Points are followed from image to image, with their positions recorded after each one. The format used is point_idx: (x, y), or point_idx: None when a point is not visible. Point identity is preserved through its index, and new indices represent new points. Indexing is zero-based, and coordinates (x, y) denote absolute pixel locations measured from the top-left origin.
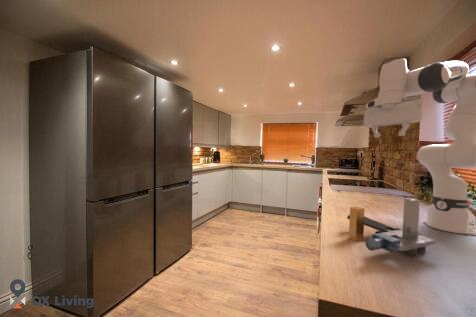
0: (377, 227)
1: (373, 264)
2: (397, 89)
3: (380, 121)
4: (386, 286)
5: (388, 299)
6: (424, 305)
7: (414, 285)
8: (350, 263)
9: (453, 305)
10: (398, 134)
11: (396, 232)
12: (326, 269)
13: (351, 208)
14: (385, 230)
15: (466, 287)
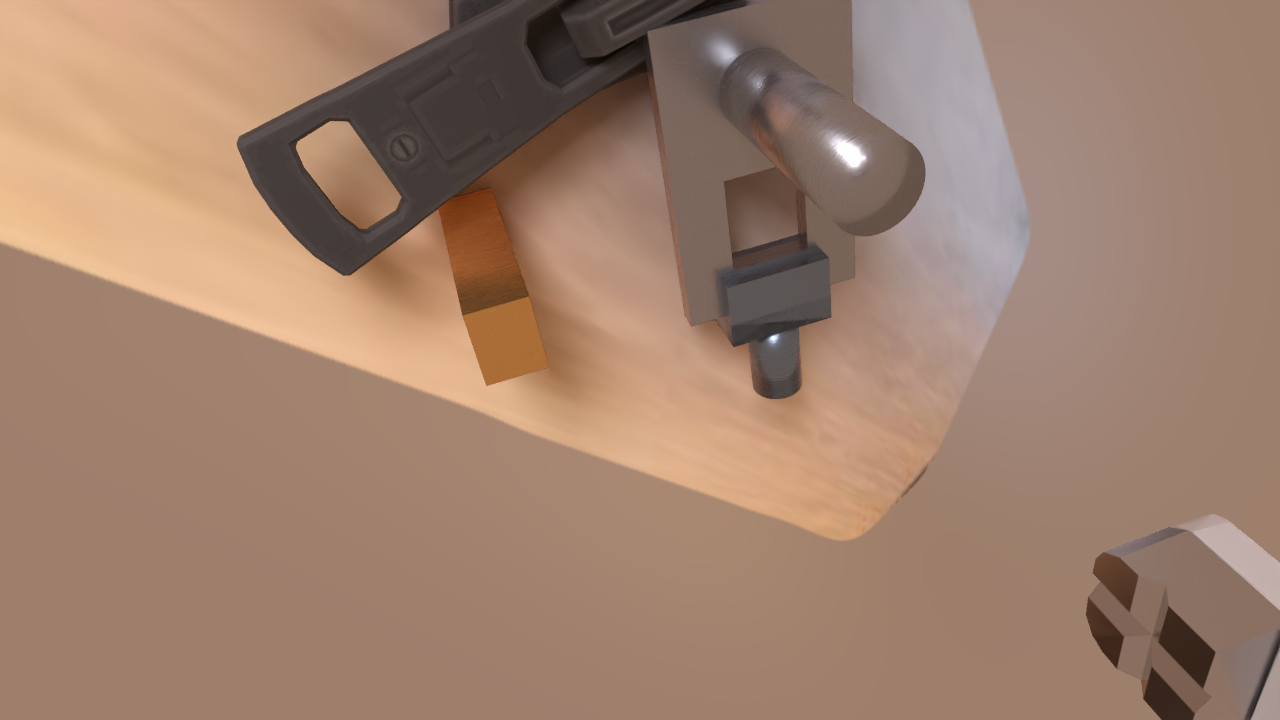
0: (531, 136)
1: None
2: None
3: None
4: (874, 374)
5: (915, 407)
6: (967, 334)
7: (903, 283)
8: (728, 407)
9: (1001, 255)
10: (1108, 649)
11: (691, 130)
12: (743, 498)
13: (498, 378)
14: (576, 104)
15: (982, 99)
